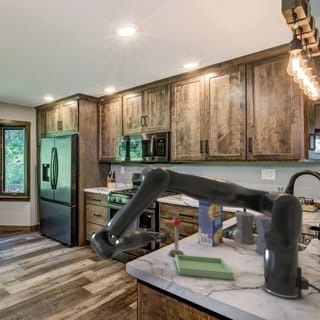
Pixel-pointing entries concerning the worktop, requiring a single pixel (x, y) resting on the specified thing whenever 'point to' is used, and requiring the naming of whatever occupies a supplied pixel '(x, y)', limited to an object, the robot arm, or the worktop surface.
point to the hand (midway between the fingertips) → (160, 232)
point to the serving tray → (203, 267)
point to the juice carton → (210, 224)
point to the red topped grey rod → (176, 237)
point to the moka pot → (261, 231)
